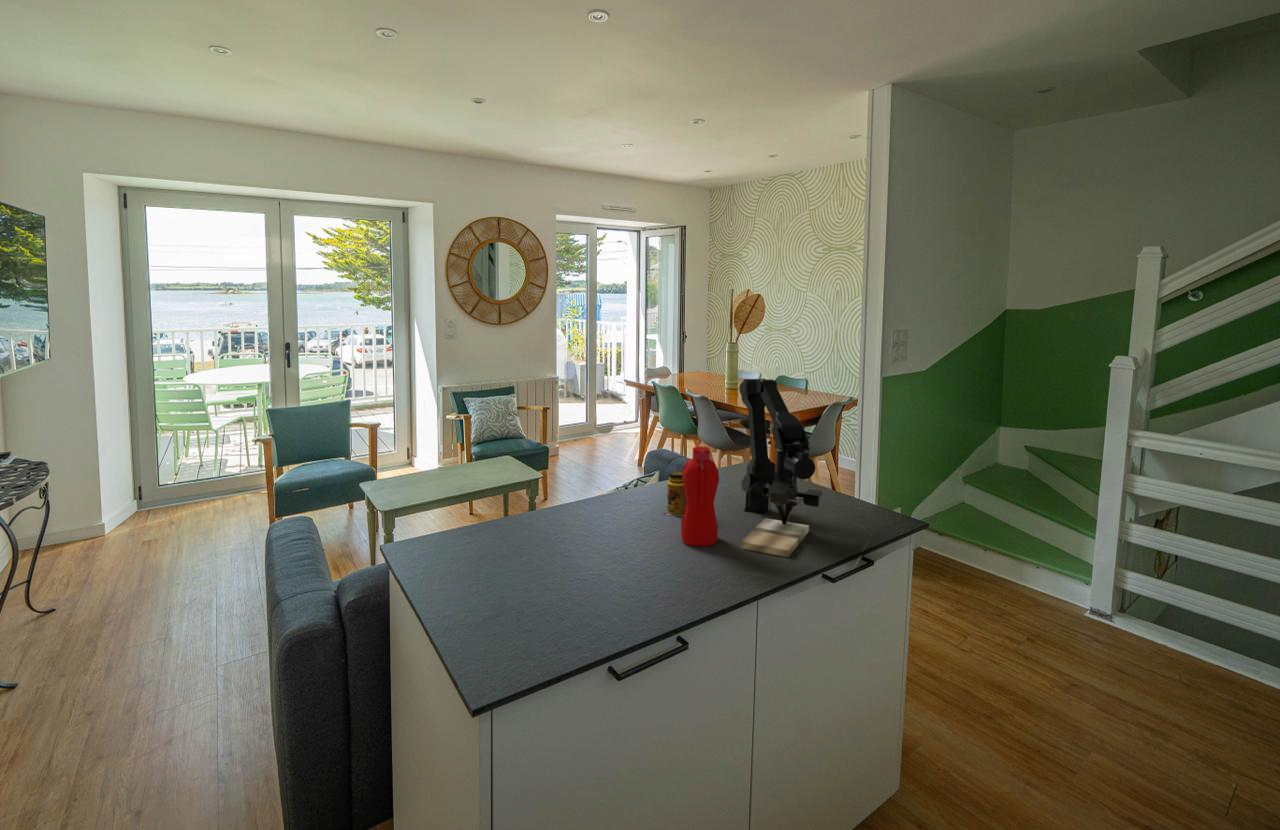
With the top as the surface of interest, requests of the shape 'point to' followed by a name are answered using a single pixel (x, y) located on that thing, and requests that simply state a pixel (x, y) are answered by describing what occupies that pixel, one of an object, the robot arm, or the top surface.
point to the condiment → (676, 494)
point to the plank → (783, 528)
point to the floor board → (770, 543)
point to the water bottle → (700, 499)
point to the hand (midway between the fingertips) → (784, 523)
